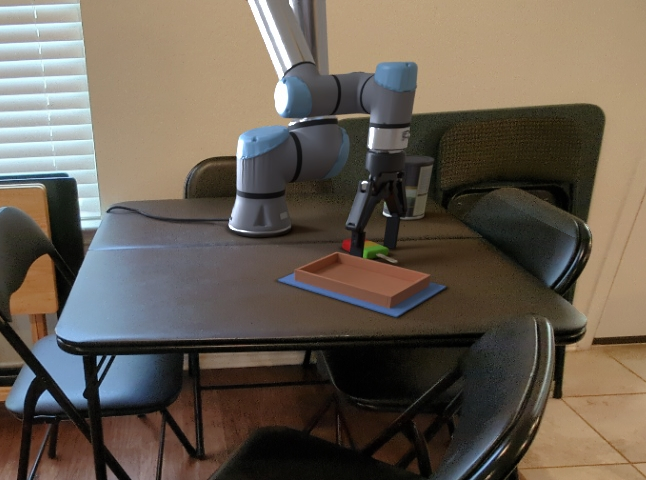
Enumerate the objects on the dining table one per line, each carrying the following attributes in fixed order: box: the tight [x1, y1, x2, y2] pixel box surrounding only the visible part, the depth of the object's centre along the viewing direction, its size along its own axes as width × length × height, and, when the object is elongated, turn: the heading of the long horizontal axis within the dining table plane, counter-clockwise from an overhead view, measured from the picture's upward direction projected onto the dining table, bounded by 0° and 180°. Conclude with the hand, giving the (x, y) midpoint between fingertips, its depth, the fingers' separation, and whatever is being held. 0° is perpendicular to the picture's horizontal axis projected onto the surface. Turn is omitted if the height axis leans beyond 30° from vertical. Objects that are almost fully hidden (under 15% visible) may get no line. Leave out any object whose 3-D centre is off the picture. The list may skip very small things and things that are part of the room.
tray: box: [294, 251, 432, 309], centre depth 111 cm, size 20×14×2 cm
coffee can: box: [382, 154, 435, 221], centre depth 149 cm, size 10×10×14 cm
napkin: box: [277, 272, 447, 318], centre depth 111 cm, size 25×18×1 cm
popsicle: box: [341, 238, 399, 264], centre depth 125 cm, size 6×15×2 cm, turn 23°
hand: (372, 254), depth 125 cm, fingers open, 13 cm apart
